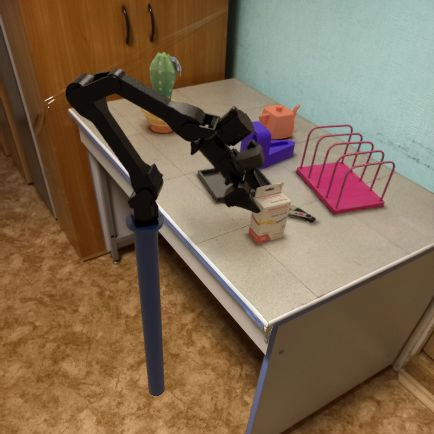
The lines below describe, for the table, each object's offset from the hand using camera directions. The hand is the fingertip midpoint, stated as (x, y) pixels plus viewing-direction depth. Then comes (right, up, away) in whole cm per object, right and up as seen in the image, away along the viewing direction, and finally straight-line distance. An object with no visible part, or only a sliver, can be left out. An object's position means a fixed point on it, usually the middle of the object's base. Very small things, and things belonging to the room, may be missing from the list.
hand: (260, 201), depth 107 cm
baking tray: (-5, +11, +25) cm, 28 cm away
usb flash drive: (+12, -2, +14) cm, 19 cm away
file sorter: (+27, +10, +27) cm, 39 cm away
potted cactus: (-31, +38, +50) cm, 70 cm away
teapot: (+11, +36, +52) cm, 65 cm away
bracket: (+7, +23, +39) cm, 46 cm away
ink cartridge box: (+2, -8, +7) cm, 11 cm away
